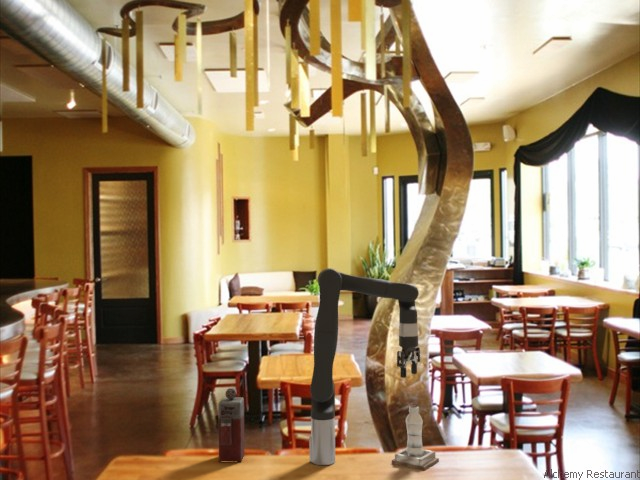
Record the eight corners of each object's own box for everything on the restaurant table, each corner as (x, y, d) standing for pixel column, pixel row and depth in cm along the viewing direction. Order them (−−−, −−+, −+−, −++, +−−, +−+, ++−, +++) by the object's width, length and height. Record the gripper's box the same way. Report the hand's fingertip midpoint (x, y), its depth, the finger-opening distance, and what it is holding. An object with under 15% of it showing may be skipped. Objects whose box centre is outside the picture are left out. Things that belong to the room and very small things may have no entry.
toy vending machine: (217, 464, 245) (216, 391, 246) (222, 455, 257) (221, 385, 257) (240, 464, 245) (239, 391, 246) (244, 454, 256) (243, 385, 257)
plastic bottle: (423, 462, 240) (422, 409, 241) (405, 461, 242) (404, 408, 242) (424, 456, 247) (423, 405, 247) (406, 455, 248) (405, 404, 248)
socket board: (391, 463, 243) (391, 453, 244) (406, 455, 253) (406, 445, 253) (424, 470, 235) (424, 460, 235) (438, 461, 245) (438, 451, 245)
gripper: (409, 331, 257) (409, 371, 257) (390, 335, 246) (391, 377, 246) (425, 333, 253) (426, 373, 252) (407, 337, 241) (408, 379, 241)
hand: (408, 375), depth 249 cm, fingers open, 8 cm apart
